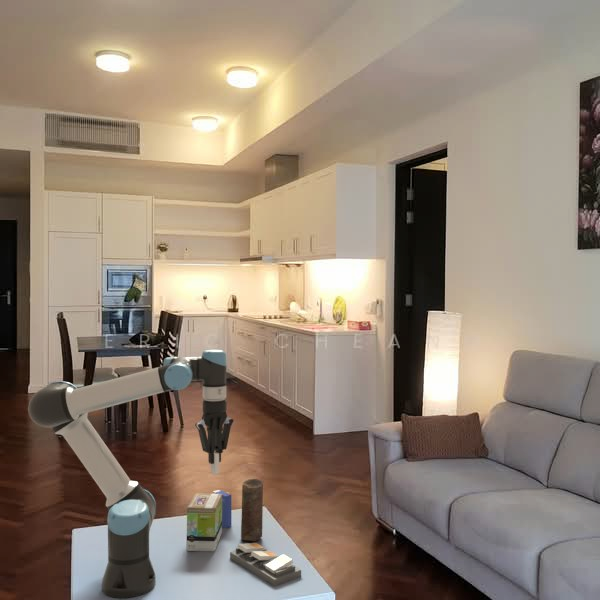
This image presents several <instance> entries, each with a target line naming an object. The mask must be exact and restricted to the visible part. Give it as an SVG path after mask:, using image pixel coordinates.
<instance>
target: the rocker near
mask: <svg viewBox="0 0 600 600" xmlns="http://www.w3.org/2000/svg"><path fill="white" fill-rule="evenodd" d="M293 563H294V562H293V559H292V558H291V557H289V556H288V555H286V554H284V553H283V554H281V555H279V556H278V558H276V559H274V560H273V561H271V562H269V563H268V564H266V565H265V568H266V569H267V570H269V571H270V572H272V573H274V574H275V572H276V571H278V570H281V569H284V568H285V567H287V566H289V565H290V564H292V565H293Z"/></svg>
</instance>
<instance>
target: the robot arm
mask: <svg viewBox="0 0 600 600" xmlns="http://www.w3.org/2000/svg"><path fill="white" fill-rule="evenodd" d="M226 353H227V352H226V351H224V350H221V349H205V350H203V351H202V354H201V356H172V357H168V356H167V357H166V358H164V360H163V365H162V366H158V367H154V368H150V369H147V370H142V371H139V372H136V373H135V372H134V373H132V374H126V375H123V376H120V377H116V378H113V379H109V380H105V381H104V380H103V381H101V382H96V383H93V384H90V385H86V386H82V387H77V386H76V385H74V384H73V383H71V382H69V381H61V380H60V381H55V382H51V383H49V384H48V385H46V386H44V387H42V389H40V390H38V391H36V392H35V393H34V394H33V395H32V397H31V398H30V399H29V403H28V405H27V406H28V407H27V411H28V415H29V417H30V419H31V421H33V423H34V424H36V425H38V426H39V427H42V428H50V430H52V432H53V433H54V434H55V435H61V436H62V437H63V438H64V439H65V440H66V442H67V444H68V445H69V447H70V448H71V449H72V451H73V452H74V454H75V455H76V456H77V458H78V460H79V461H80V462H81V463H82V465H83V466H84V468H85V469H86V471H87V472H88V474H89V475H90V477H91V478H92V479H93V481H94V482H95V483H96V485H97V487H99V489H100V490H101V492H102V493H103V494H104V496H105V498H106V501H105V507H106V508H107V509H108V513H107V519H106V523H107V553H108V554H107V565H106V568H105V571H104V574H103V577H102V579H101V580H102V581H101V591H102V592H103V594H104V595H106V596H108V597H111V598H116V599H127V598H129V599H130V598H134V597H138V596H141V595H144V594H146V593H148V592H149V591H151V590H152V589H154V588H155V586H156V573H155V570H154V567H153V563H152V561H151V558H150V530H151V527H152V524H153V522H154V519H155V516H156V513H157V503H156V499H155V497H154V496H153V494H152V493H151V492H150V491H149V490H147V489H145V488H143V487H142V486H141V484H140V482H138V481H137V480H131V479H130V477H129V476H128V475H127V472H125V470H124V469H123V467H122V466H121V465H120V463H119V461H118V460H117V458H116V457H115V456H114V454H113V453H112V451H111V450H110V449H109V447H108V446H107V445H106V444H105V442H104V440H103V439H102V438H101V435H100V434H99V432H98V431H97V430H96V429H95V428H94V426H93V425H92V423H91V421H90V420H89V418H88V414H89V413H91V412H96V411H98V410H102V409H106V408H110V407H115V406H116V405H117V406H118V405H122V404H126V403H128V402H131V401H132V402H133V401H136V400H139V399H143V398H147V397H151V396H154V395H159V394H162V393H166V392H170V391H173V390H175V391H180V390H183V389H186V388H187V387H188V386H189V385H190V383H191V382H193V381H197V382H198V381H199V382H200V381H202V399H203V400H202V416H201V420H200V421H199V422H195V424H194V425H195V428H196V429H197V432H198V434H199V439H200V443H201V448H202V451H203V452H205V453H207V455H208V457H207V458H208V460H207V462H208V464H210V473H211V474H213V475H219V474H220V463H221V462H222V453H224V450H226V449H228V443H229V437H230V432H231V427H232V425H233V423H234V419H233V418H230V417H229V416H228V414H227V410H228V409H227V406H228V405H227V404H228V402H227V400H226V399H227V371H228V370H227V367H228V366H227V354H226ZM205 427H206V429H205Z"/></svg>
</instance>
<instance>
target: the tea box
mask: <svg viewBox="0 0 600 600" xmlns="http://www.w3.org/2000/svg"><path fill="white" fill-rule="evenodd" d="M222 529H223V527H222V494H213V493H204V492H203V493H202V492H201V493H200V492H199V493H197V492H196V493H194V495H193V497H192V499H191V500H190V502H189V504H188V506H187V507H186V549H185V550H186V551H187V552H215V551H216V549H217V546H218V544H219V542H220V538H221V537H222V533H223V530H222Z"/></svg>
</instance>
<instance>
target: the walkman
mask: <svg viewBox="0 0 600 600" xmlns="http://www.w3.org/2000/svg"><path fill="white" fill-rule="evenodd" d="M212 494H222V528H225V529H227V528H231V527H232V524H233V523H232V494H231V493H230V492H228V491H227V492H226V491H223V490H220V489H217V490H213V491H212Z"/></svg>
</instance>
